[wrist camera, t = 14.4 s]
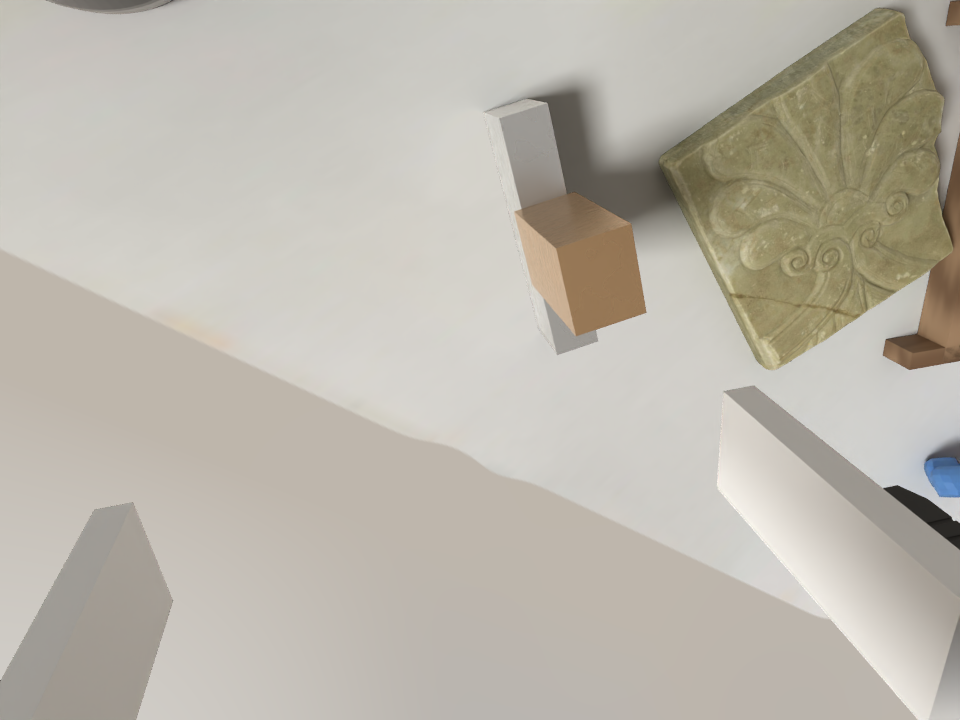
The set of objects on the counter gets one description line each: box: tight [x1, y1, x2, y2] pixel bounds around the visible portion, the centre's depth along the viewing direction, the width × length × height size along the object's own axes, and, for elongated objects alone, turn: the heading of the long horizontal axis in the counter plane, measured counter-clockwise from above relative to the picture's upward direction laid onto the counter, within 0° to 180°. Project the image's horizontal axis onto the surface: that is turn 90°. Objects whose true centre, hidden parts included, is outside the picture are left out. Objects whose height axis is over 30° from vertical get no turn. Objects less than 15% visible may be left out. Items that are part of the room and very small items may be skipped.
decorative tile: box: [659, 8, 953, 370], centre depth 49 cm, size 19×20×4 cm
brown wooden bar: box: [883, 1, 960, 370], centre depth 50 cm, size 27×5×3 cm, turn 5°
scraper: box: [483, 99, 646, 355], centre depth 40 cm, size 16×4×14 cm, turn 15°
